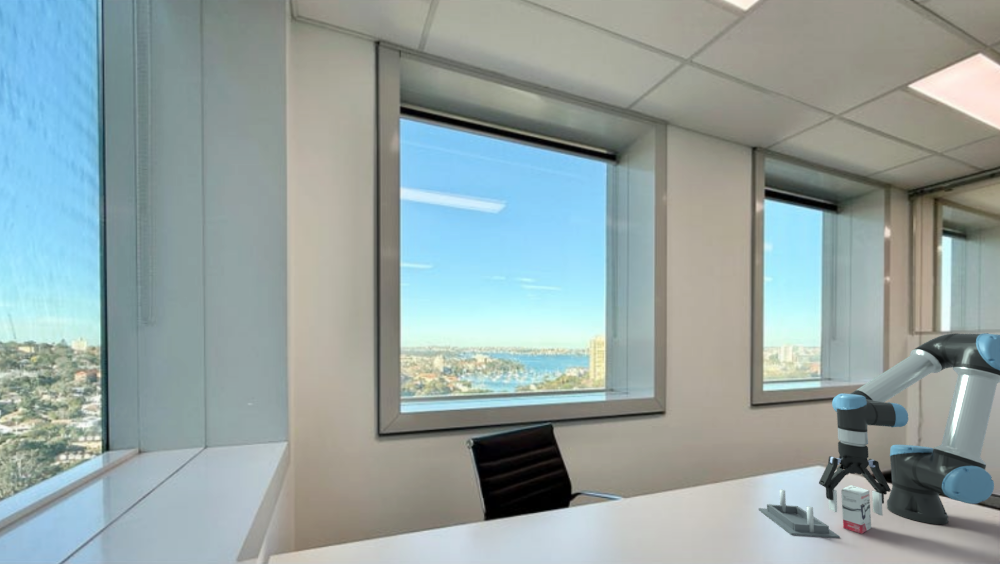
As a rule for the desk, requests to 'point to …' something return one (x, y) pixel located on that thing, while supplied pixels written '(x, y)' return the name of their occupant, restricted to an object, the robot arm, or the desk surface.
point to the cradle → (797, 519)
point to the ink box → (856, 509)
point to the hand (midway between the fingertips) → (855, 512)
